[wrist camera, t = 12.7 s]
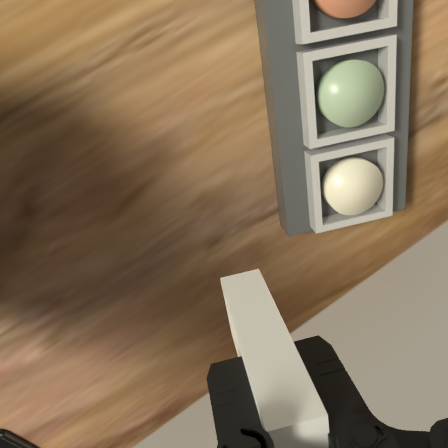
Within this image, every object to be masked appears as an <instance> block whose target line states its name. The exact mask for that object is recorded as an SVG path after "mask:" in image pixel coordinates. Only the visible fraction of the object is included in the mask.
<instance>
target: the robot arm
mask: <svg viewBox="0 0 448 448" xmlns="http://www.w3.org/2000/svg"><path fill="white" fill-rule="evenodd" d="M220 280H221V285H222V290H223V294H224V299H225V304H226V309H227V314H228V319H229V323H230V328H231V333H232V337H233V340H234V344H235V347H236V351H237V354H238V357H236V358H233V359H229V360H225V361H221V362H217V363H213V364H211V366H210V369H209V372H208V376H207V383H208V388H209V394H210V400H211V405H212V411H213V416H214V423H215V429H216V434H217V440H218V446H217V448H448V418H446V419H442V420H439V421H437V422H436V423H435V424H434V425H433V426H432V427H431V429H430V432H426V431H406V430H399V429H395V428H392V427H389V426H387V425H385V424H384V423H382V422H380V421H379V420H378V419H377V418H376V417H375V416H374V415H373V414H372V413H371V412H370V410H369V409H368V407H367V405H366V404H365V402H364V400H363V398H362V397H361V395H360V393H359V392H358V390H357V388H356V387H355V385H354V383H353V381H352V380H351V378H350V376H349V375H348V373H347V371H345V368H344V366H343V364H342V363H341V361H340V360H339V358H338V356H337V354H336V353H335V351H334V349H333V347H332V346H331V345H330V344H329V343H327V342H326V341H325V340H324V339H322V338H321V337H320V336H314V337H310V338H306V339H303V340H299V341H295V342H293V340H292V338H291V336H290V334H289V332H288V329H287V327H286V325H285V323H284V321H283V319H282V317H281V315H280V313H279V310H278V308H277V306H276V304H275V302H274V300H273V298H272V296H271V293H270V291H269V289H268V287H267V285H266V283H265V281H264V279H263V277H262V274H261V272H260V270H259V269H255V270H251V271H247V272H243V273H239V274H235V275H230V276H226V277H222V278H220Z"/></svg>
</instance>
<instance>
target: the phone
mask: <svg viewBox="0 0 448 448" xmlns="http://www.w3.org/2000/svg"><path fill="white" fill-rule="evenodd" d="M0 448H37V447H35V446H34V445H32V444H30V443H28V442H27V441H25V440H23V439H21V438H19V437H18V436H16V435H14V434H12V433H10V432H9V431H7V430H5V429H0Z"/></svg>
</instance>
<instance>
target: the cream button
mask: <svg viewBox="0 0 448 448" xmlns="http://www.w3.org/2000/svg"><path fill="white" fill-rule="evenodd" d="M382 188H383V177H382V174H381V172H380V170H379V169H378V167H377V166H375V165H374V164H373V163H371V162H369V161H367V160H366V159H364V158H362V157H359V156H347V157H344V158H341V159H339V160H337V161H336V162H335V163H333V164H332V165H331V166H330V167H329V168H328V170H327V171H326V173H325V175H324V177H323V180H322V185H321V190H322V195H323V197H324V199H325V201H326V202H327V203H328V204H329V205H330V206H331V207H332V208H333V209H334V210H335V211H337V212H338V213H340V214H343V215H349V216H350V215H357V214H360V213H363V212H365V211H366V210H368V209H369V208H370V207H372V206H373V205H374V204H375V202H376V201H377V200H378V198H379V196H380V194H381V192H382Z"/></svg>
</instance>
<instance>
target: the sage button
mask: <svg viewBox="0 0 448 448" xmlns="http://www.w3.org/2000/svg"><path fill="white" fill-rule="evenodd" d="M383 95H384V82H383V78H382V75H381V73H380V72H379V70H378V69H377V68H376V67H375V66H374V65H373V64H371V63H369V62H367V61H362V60H355V59H344V60H341V61H338V62H336V63H334V64H333V65H331V66H330V67H329V68H328V69H327V70H326V71H325V72H324V73H323V75H322V76H321V78H320V80H319V82H318V85H317V89H316V104H317V107H318V109H319V111H320V113H321V114H322V116H323V117H324V118H326V119H327V120H328V121H330V122H332V123H334V124H337V125H339V126H342V127H356V126H359V125H361V124H363V123H365V122H366V121H368V120H369V119H370V118H371V117H372V116H373V115H374V114H375V113H376V111H377V110H378V108H379V107H380V105H381V102H382V99H383Z"/></svg>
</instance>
